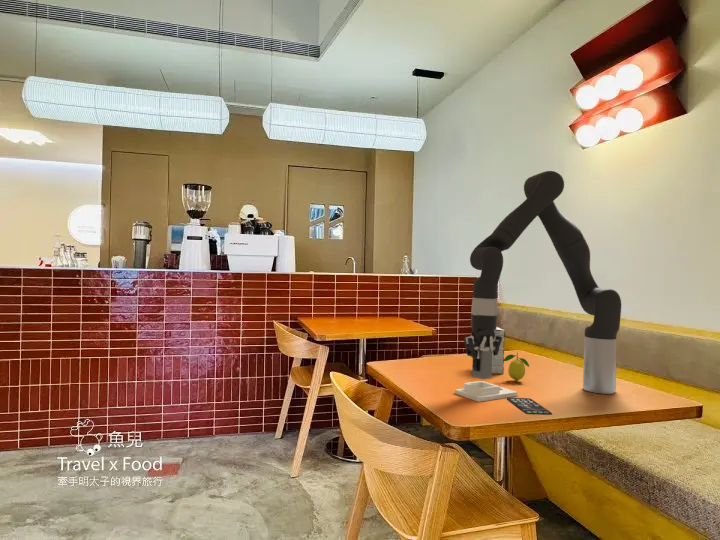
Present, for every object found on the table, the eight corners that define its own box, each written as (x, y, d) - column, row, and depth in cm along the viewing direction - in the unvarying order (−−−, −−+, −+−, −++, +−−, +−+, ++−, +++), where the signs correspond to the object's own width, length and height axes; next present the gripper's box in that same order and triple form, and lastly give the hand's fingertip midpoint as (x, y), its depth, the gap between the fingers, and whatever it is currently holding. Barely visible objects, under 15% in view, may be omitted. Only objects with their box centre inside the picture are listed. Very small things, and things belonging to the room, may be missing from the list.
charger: (481, 375, 145) (482, 346, 145) (491, 377, 141) (492, 348, 141) (472, 376, 143) (473, 346, 143) (481, 378, 139) (482, 349, 139)
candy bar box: (482, 367, 185) (484, 325, 185) (495, 368, 185) (497, 326, 185) (490, 373, 173) (491, 329, 174) (504, 374, 173) (505, 329, 173)
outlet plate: (492, 388, 151) (493, 378, 151) (517, 396, 143) (517, 385, 143) (454, 393, 143) (455, 382, 143) (478, 401, 134) (479, 390, 134)
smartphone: (526, 413, 124) (505, 397, 139) (526, 415, 124) (505, 399, 139) (553, 413, 124) (530, 398, 139) (553, 416, 124) (530, 400, 139)
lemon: (502, 380, 163) (503, 351, 163) (511, 378, 167) (512, 350, 167) (520, 384, 158) (521, 354, 158) (529, 382, 162) (530, 353, 162)
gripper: (491, 311, 149) (489, 366, 149) (457, 312, 142) (455, 369, 141) (510, 314, 142) (508, 371, 142) (475, 314, 135) (473, 374, 135)
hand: (482, 370), depth 142 cm, fingers closed on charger, 4 cm apart
